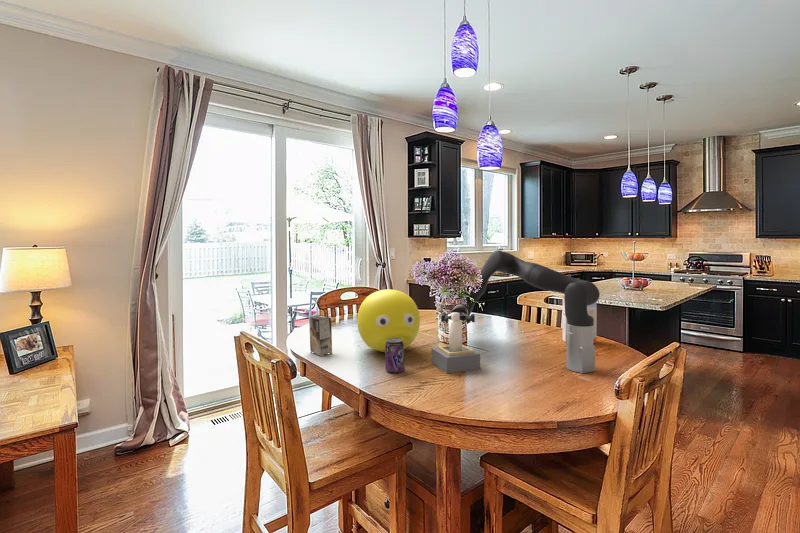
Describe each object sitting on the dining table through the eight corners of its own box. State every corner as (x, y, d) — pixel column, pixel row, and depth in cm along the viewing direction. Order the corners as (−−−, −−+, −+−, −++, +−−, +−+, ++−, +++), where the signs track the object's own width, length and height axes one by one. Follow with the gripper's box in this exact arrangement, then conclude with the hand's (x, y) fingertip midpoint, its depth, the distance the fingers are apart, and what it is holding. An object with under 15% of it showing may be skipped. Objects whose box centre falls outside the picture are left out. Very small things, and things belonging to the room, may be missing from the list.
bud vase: (464, 351, 164) (464, 313, 163) (452, 353, 162) (452, 314, 161) (458, 348, 169) (458, 311, 167) (446, 349, 167) (446, 312, 166)
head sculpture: (365, 363, 171) (363, 295, 169) (353, 345, 198) (351, 287, 196) (429, 356, 179) (428, 292, 177) (409, 341, 206) (408, 284, 204)
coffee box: (333, 353, 185) (332, 317, 184) (320, 356, 181) (319, 319, 180) (322, 349, 192) (321, 314, 191) (309, 352, 188) (308, 316, 187)
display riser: (480, 369, 161) (480, 351, 161) (446, 373, 157) (446, 355, 156) (463, 359, 174) (463, 342, 174) (432, 362, 170) (431, 345, 170)
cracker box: (592, 340, 201) (592, 297, 200) (596, 344, 195) (597, 299, 194) (561, 340, 203) (562, 297, 201) (565, 343, 197) (566, 299, 195)
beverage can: (388, 374, 157) (387, 342, 156) (383, 368, 163) (383, 338, 162) (406, 372, 158) (406, 341, 158) (401, 367, 165) (400, 337, 164)
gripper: (443, 305, 192) (439, 311, 176) (475, 306, 189) (474, 312, 174) (443, 321, 193) (440, 329, 177) (475, 322, 190) (474, 330, 174)
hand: (457, 321), depth 175 cm, fingers open, 8 cm apart
